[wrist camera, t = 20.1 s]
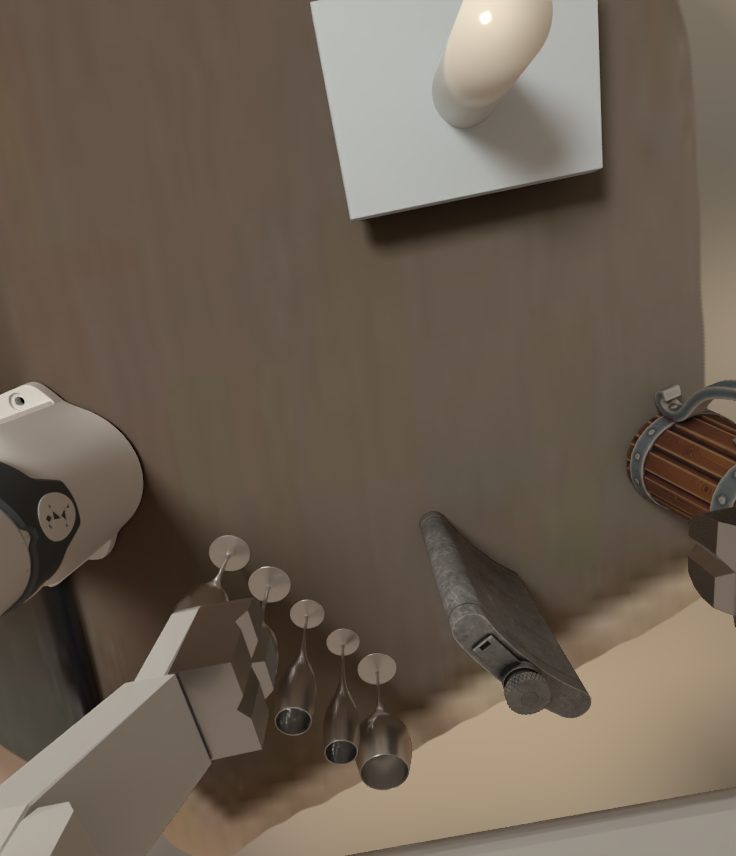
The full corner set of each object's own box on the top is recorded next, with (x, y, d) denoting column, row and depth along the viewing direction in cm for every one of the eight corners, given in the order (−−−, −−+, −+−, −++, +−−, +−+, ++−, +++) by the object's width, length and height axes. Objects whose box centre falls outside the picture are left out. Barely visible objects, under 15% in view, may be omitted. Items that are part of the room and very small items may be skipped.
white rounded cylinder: (436, 134, 33) (467, 79, 25) (427, 55, 32) (455, -32, 23) (502, 120, 33) (555, 60, 25) (495, 41, 32) (549, -52, 23)
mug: (730, 474, 47) (896, 554, 33) (635, 513, 48) (756, 606, 34) (701, 340, 43) (877, 364, 29) (597, 385, 44) (717, 430, 29)
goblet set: (195, 556, 48) (139, 652, 35) (230, 522, 47) (186, 607, 34) (376, 694, 54) (384, 817, 42) (410, 667, 53) (430, 784, 41)
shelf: (350, 226, 39) (350, 219, 35) (314, 34, 35) (310, 2, 31) (577, 180, 38) (602, 167, 34) (568, -20, 34) (595, -59, 30)
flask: (500, 600, 51) (578, 757, 34) (408, 529, 48) (442, 663, 30) (523, 579, 50) (615, 728, 33) (432, 506, 47) (479, 629, 30)
